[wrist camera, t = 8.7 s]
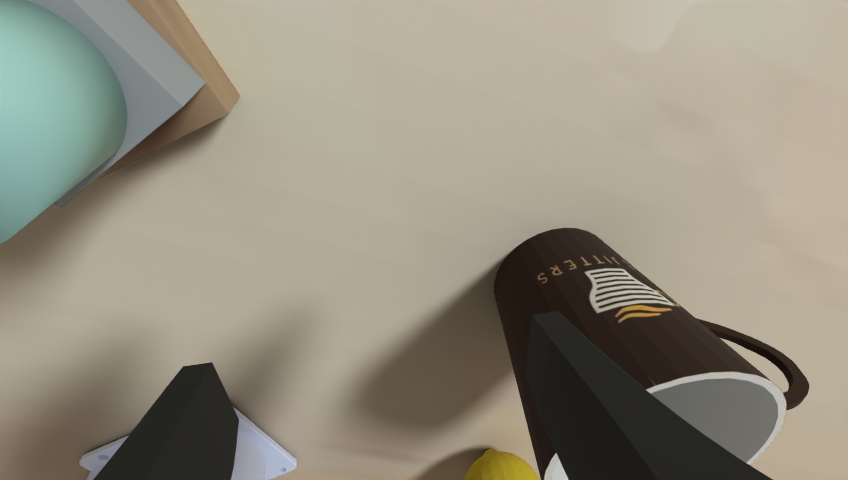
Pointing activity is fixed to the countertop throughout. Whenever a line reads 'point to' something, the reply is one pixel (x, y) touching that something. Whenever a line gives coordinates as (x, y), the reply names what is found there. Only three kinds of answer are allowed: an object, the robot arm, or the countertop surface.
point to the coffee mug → (640, 343)
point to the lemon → (500, 467)
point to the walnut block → (218, 91)
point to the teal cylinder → (50, 111)
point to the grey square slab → (130, 68)
